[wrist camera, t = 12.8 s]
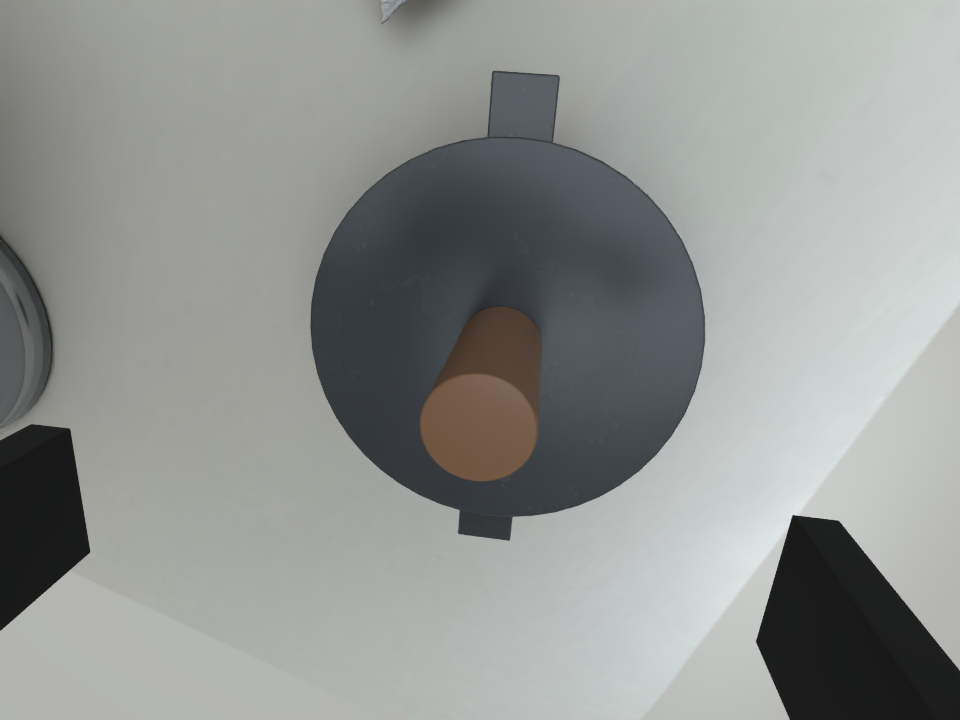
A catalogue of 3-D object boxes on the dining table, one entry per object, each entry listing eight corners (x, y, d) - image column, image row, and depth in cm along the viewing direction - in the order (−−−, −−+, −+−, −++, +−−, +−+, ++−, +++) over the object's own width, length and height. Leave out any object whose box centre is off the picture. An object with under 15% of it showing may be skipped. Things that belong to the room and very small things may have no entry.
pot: (382, 439, 36) (330, 526, 27) (391, 85, 30) (326, 56, 21) (618, 468, 35) (640, 568, 26) (680, 106, 28) (734, 83, 20)
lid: (322, 479, 27) (224, 616, 19) (318, 122, 22) (184, 101, 14) (661, 522, 26) (711, 689, 18) (736, 154, 21) (852, 152, 13)
